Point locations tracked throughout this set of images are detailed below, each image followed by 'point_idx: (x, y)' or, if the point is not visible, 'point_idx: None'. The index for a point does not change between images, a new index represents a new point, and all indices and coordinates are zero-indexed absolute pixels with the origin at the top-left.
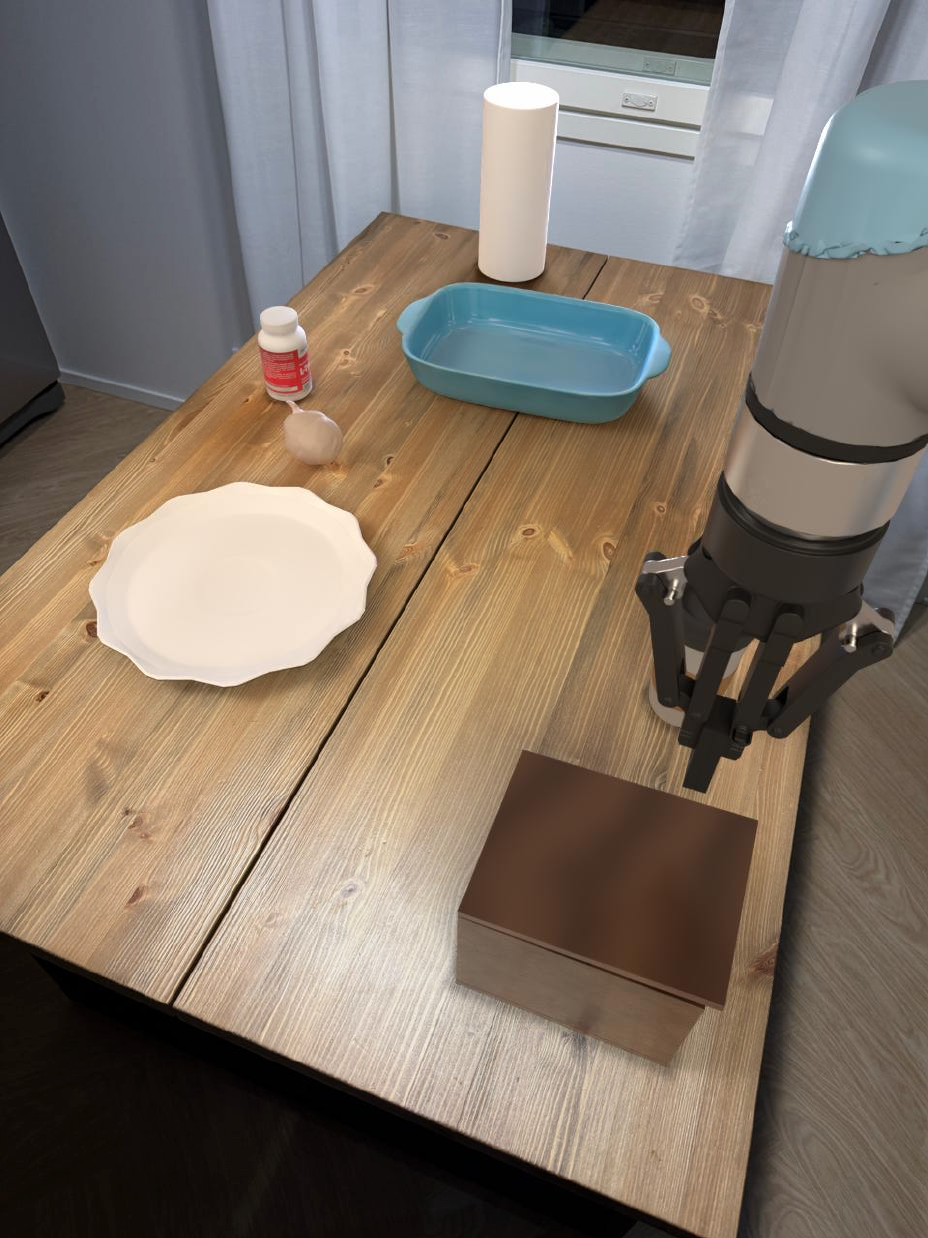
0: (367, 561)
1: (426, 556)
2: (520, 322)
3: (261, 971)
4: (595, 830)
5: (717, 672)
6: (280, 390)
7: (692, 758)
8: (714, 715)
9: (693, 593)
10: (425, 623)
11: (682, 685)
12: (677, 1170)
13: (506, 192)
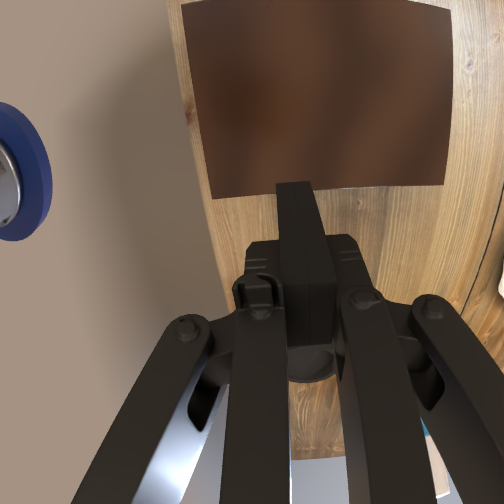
0: (502, 287)
1: (468, 303)
2: (422, 422)
3: (488, 7)
4: (363, 122)
5: (386, 462)
6: None
7: (320, 219)
8: (320, 311)
9: (325, 362)
10: (467, 263)
11: (410, 352)
12: None
13: (435, 464)
